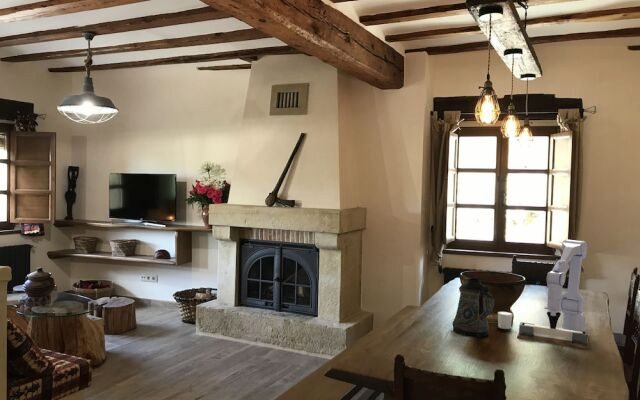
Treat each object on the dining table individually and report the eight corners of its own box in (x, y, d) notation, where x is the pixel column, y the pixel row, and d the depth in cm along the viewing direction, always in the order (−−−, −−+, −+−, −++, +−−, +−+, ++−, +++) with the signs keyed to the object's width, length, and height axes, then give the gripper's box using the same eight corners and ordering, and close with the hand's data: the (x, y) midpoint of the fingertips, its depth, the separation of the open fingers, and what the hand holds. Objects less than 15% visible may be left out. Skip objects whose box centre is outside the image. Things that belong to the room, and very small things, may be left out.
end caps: (587, 341, 240) (587, 331, 240) (587, 345, 234) (587, 335, 234) (520, 331, 252) (520, 322, 252) (518, 334, 246) (519, 325, 246)
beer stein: (457, 325, 263) (460, 274, 262) (498, 332, 253) (501, 279, 252) (447, 333, 249) (450, 279, 248) (490, 340, 239) (493, 284, 238)
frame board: (588, 342, 241) (588, 340, 241) (588, 348, 232) (588, 346, 232) (519, 332, 254) (519, 330, 254) (517, 337, 245) (517, 335, 245)
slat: (582, 338, 239) (582, 331, 239) (582, 340, 237) (582, 333, 236) (524, 329, 250) (524, 323, 250) (523, 331, 247) (524, 324, 247)
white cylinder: (502, 329, 258) (503, 315, 258) (494, 325, 265) (494, 311, 264) (514, 329, 260) (515, 314, 260) (506, 325, 267) (507, 311, 266)
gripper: (546, 294, 251) (544, 323, 251) (544, 300, 238) (542, 330, 238) (562, 296, 248) (561, 325, 248) (561, 302, 235) (559, 333, 235)
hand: (553, 328), depth 243 cm, fingers closed, pressing on slat
